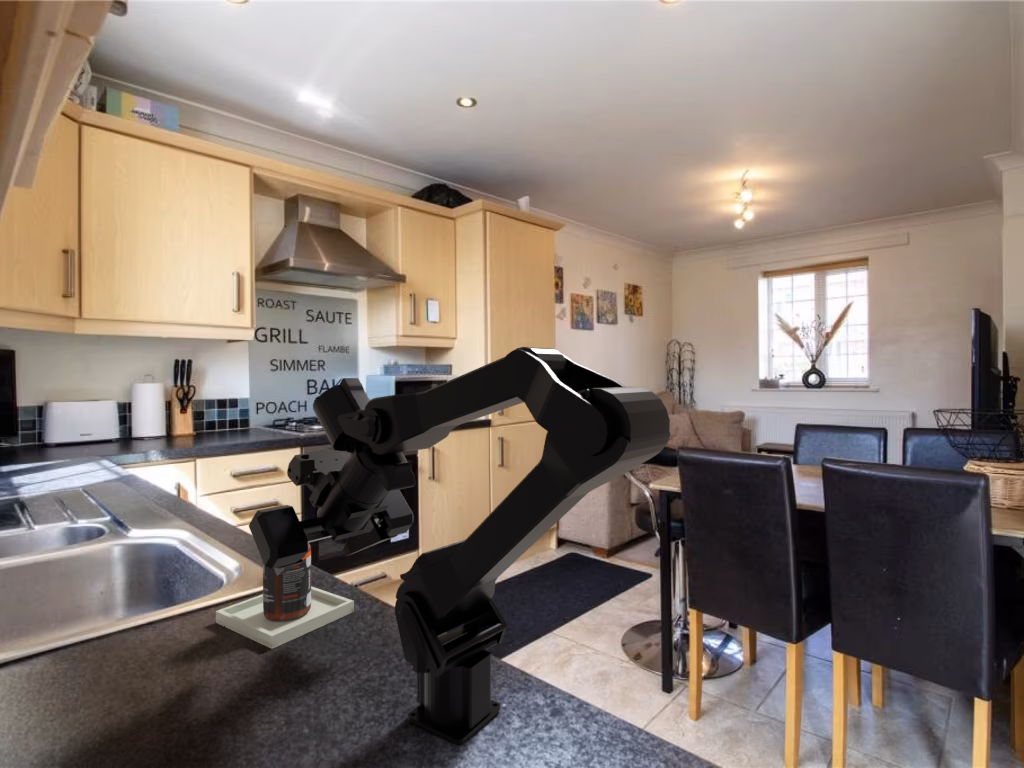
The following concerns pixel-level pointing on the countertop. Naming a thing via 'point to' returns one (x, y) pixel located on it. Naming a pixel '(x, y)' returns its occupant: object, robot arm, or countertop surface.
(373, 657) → the countertop surface
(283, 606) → the supplement bottle
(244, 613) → the tray
